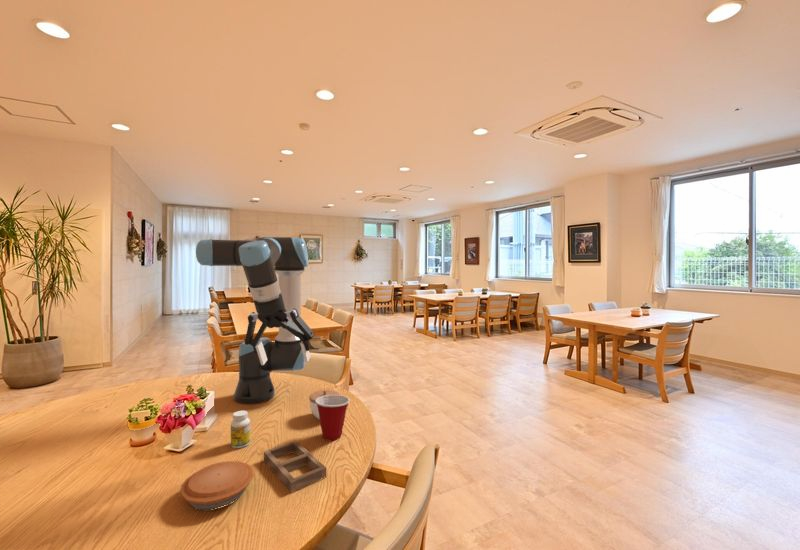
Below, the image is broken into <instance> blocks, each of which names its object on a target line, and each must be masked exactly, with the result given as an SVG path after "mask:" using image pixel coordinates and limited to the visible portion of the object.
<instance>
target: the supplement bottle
mask: <svg viewBox="0 0 800 550" xmlns="http://www.w3.org/2000/svg"><path fill="white" fill-rule="evenodd" d="M248 416H249V415H248V411H247V410H238V411H235V412H234V413H232V421H231V423H230V445H231V447H232V448H233V449H243V448H245V447H247V446H249V445H250V443H251V420H250V418H249V417H248Z"/></svg>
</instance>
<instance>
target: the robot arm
mask: <svg viewBox="0 0 800 550" xmlns="http://www.w3.org/2000/svg"><path fill="white" fill-rule="evenodd" d="M195 257H196V261H197V262H198V264H200V265H201V266H208V267H215V266H216V267H231V266H233V267H242V268H243V272H244V274H245V275H244V276H245V279H246V281H247V285H248V288H249V291H250V294H251V298H252V300H253V304H254V308H255V311H256V312H254V311H253V312H252V311H251V313H250V314H249V315H248V316H247V321H248V326H247V329H246V334H245V340H244V341H243V342H242V343H240V344H239V345H238V355H237V356H238V381H237V384H236V386H235V387H236V388H235V391H234V395H233V396H234V397H233V398H234V401H235V402H236V403H238V402H239V403H238V404H243V403H248V404H249V403H250V404H258V403H262V402H266V401H269V400H271V399H272V398H273V397H274V396H275V394H276V393H275V386H274V383H273V381H272V378H271V372H279V371H284V372H285V371H292V372H294V371H300V370H303V369H304V368H305V366H306V363H308V362H309V360H310V359H311V353H310V349H311V347H312V346H311V343H310V342H311V340H312V339H313V338H314V336H315V333H314V330H312V328H311V327H310V326H309V325H308V324H307V323H306V321H304V319H303V318H302V316H301V314H302V313H301V311H302V310H301V307H302V306H301V305H302V304H301V302H302V301H301V298H302V297H301V296H302V295H301V292H302V291H301V279H302V278H301V275H302V274H303V273H304V272H305V268H307V267H308V266H309V254H308V248H307V243H306V241H305V240H304V239H303V238H302V237H293V236H292V237H290V236H289V237H287V236H286V237H284V236H282V237H280V236H279V237H278V236H277V237H276V236H274V237H273V236H263V237H261V236H260V237H254V238H245V239H241V240H240V239H239V240H238V239H236V240H235V239H212V238H210V239H201V240H199V241H198V242H197V243H196V248H195ZM277 275H278V277H277ZM258 321H259V322H261V325H260V327H259V329H258V331H257V333H256V334H255V329H256V325H257V322H258ZM267 328H268V329H273V328H277V329H278V334H277V335H276V336H275V337H274V341H271V339H270V338H269V337H262V336H263V335H264V332H265V331H266V329H267ZM254 334H255V336H254Z"/></svg>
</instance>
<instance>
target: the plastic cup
mask: <svg viewBox="0 0 800 550" xmlns="http://www.w3.org/2000/svg"><path fill="white" fill-rule="evenodd" d="M350 401H351V400H350V398H349V397H348V396H346V395H341V394H340V395H326V396H321V397H318V398H317V399H316V404H317V407H318V411H319V417H320V420H319V423H320V427H321V434H322V438H323V439H324V440H326V441H336V440H338V439H340V438H341V437H342V434H343V428H344V424H345V420H346V419H345V418H346V413H347V409H348V405H349V403H350Z"/></svg>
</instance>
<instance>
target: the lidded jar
mask: <svg viewBox="0 0 800 550" xmlns="http://www.w3.org/2000/svg"><path fill="white" fill-rule="evenodd" d="M326 395H341V393H340V392H339V391H336V390H334V389H333V390H332V389H321V390H317V391H314V392H312V393H310V395H309V397H308V399H309V408H310V412H311V413H312V415H313V416H314V417H315V419H317V420H319V421H320V417H319V411H318V407H317V404H316V399H317V398H318V397H321V396H326Z"/></svg>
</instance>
